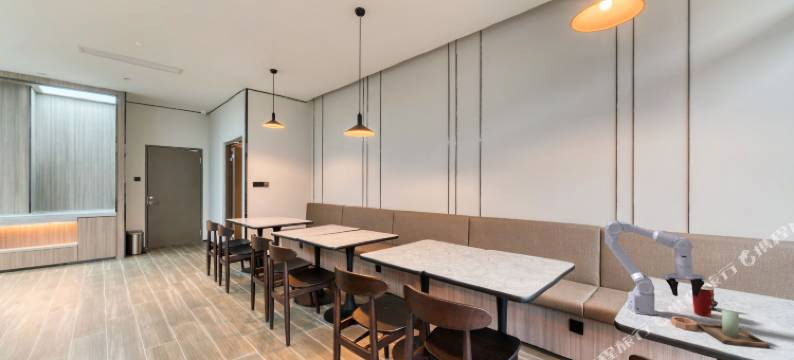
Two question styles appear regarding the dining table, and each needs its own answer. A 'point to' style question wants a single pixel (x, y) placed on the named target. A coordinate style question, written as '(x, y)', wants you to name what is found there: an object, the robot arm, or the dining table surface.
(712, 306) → the salt shaker
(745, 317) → the dining table surface
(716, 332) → the serving tray
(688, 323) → the orange octagonal ring
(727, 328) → the green pin
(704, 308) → the paper cup
